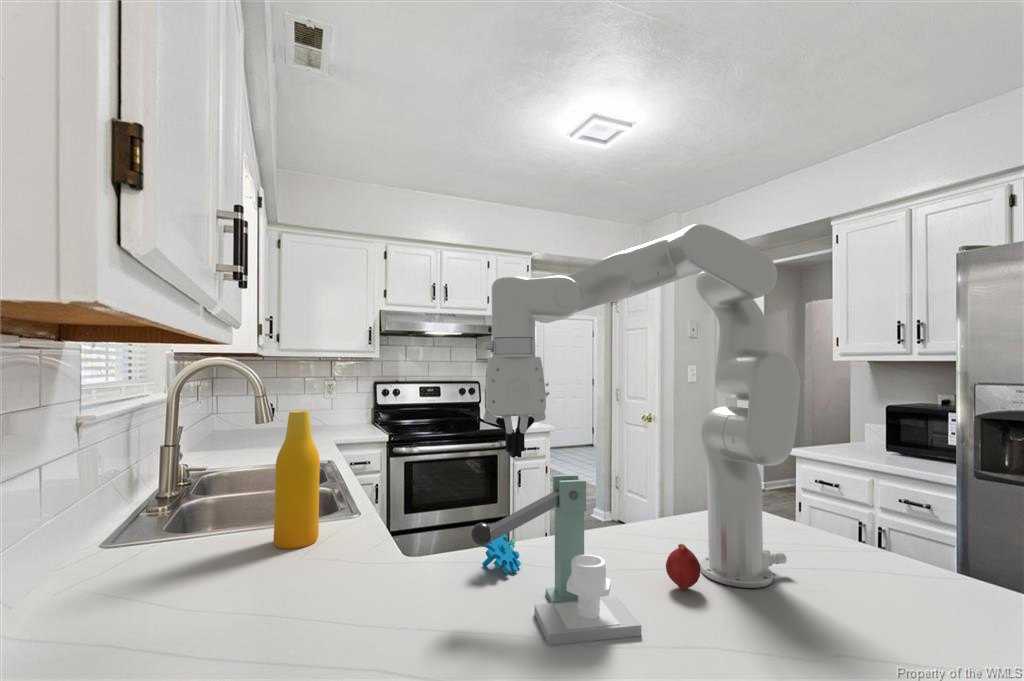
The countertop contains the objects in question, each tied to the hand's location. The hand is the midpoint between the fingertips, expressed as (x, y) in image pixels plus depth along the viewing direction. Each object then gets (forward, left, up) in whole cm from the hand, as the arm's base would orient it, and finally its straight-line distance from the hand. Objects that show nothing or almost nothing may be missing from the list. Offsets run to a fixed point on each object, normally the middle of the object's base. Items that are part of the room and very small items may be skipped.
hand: (515, 455), depth 86 cm
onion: (-30, +2, -24) cm, 39 cm away
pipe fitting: (-10, +10, -23) cm, 27 cm away
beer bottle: (+43, -35, -24) cm, 61 cm away
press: (-9, +8, -24) cm, 27 cm away
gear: (0, -13, -24) cm, 28 cm away
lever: (-2, +2, -11) cm, 11 cm away
